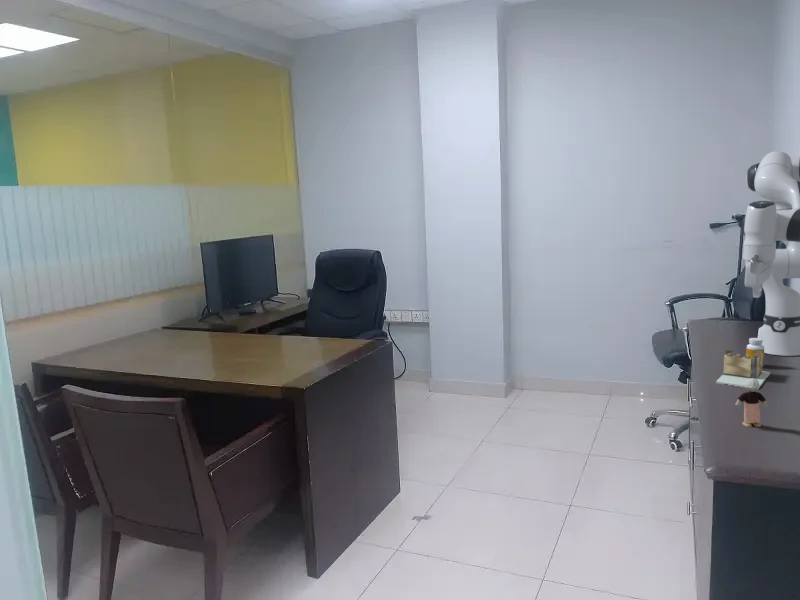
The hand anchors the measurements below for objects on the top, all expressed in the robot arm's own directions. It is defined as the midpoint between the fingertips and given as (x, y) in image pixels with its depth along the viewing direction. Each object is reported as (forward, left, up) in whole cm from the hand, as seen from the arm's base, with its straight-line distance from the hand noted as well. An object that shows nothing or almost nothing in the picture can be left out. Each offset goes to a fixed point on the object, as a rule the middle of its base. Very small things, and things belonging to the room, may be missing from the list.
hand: (756, 297), depth 193 cm
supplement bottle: (-18, -3, -28) cm, 33 cm away
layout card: (0, -3, -27) cm, 28 cm away
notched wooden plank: (-1, -5, -26) cm, 27 cm away
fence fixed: (-5, 0, -27) cm, 27 cm away
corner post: (-2, -8, -27) cm, 29 cm away
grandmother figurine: (+44, +7, -28) cm, 52 cm away
